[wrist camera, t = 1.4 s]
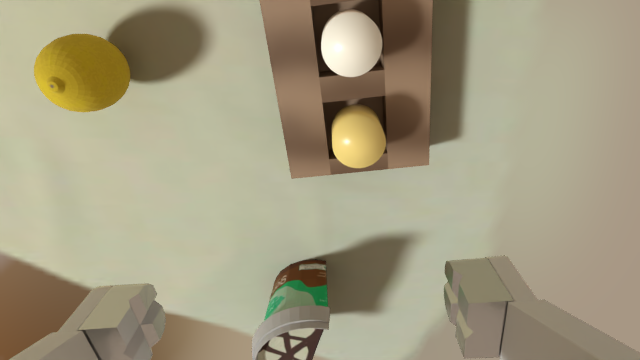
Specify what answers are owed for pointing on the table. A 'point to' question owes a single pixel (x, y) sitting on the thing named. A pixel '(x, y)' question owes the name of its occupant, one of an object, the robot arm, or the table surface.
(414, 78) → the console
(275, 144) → the table surface
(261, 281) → the table surface
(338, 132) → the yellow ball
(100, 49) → the lemon
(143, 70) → the table surface
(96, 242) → the table surface
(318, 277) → the food container
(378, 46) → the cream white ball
